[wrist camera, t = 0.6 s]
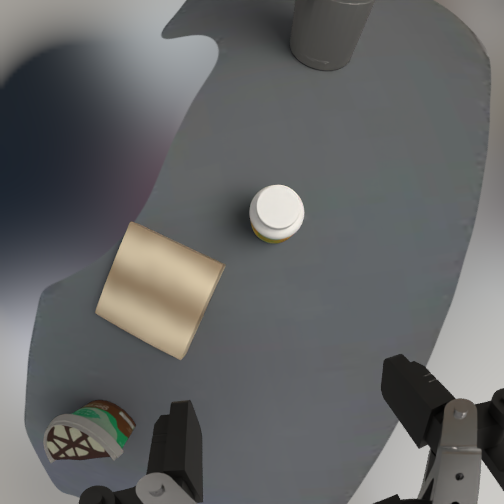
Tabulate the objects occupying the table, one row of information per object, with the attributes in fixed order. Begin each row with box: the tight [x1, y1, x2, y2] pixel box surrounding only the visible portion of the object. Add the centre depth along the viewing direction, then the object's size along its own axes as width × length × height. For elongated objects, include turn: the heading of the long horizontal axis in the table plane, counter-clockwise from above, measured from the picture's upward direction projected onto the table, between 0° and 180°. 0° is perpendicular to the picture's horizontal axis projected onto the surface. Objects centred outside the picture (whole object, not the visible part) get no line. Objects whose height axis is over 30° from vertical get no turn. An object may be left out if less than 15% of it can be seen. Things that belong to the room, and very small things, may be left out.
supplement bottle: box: [249, 185, 304, 244], centre depth 33 cm, size 5×5×10 cm
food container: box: [44, 400, 136, 463], centre depth 32 cm, size 12×6×10 cm, turn 111°
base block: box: [95, 222, 226, 360], centre depth 36 cm, size 12×12×3 cm
